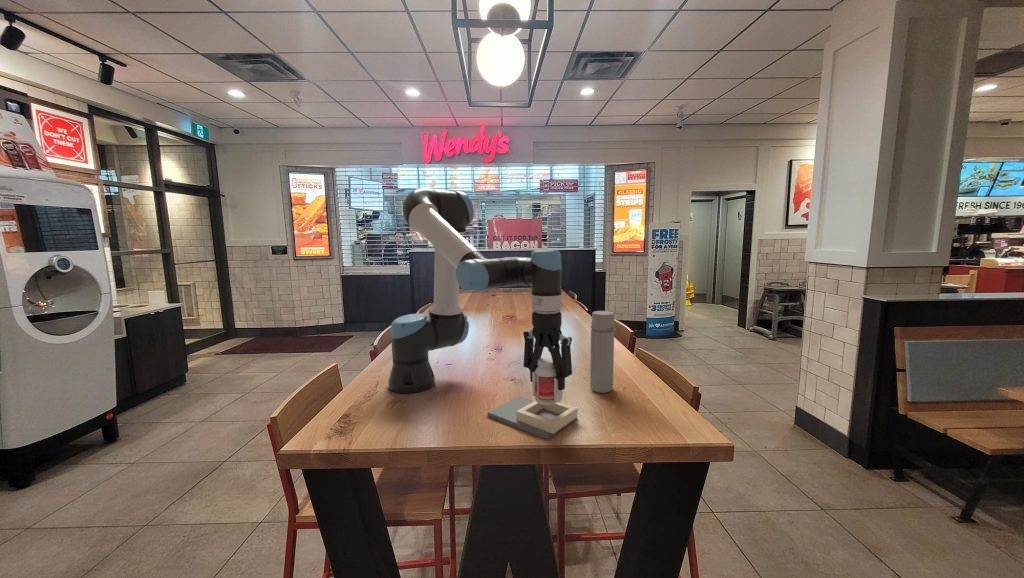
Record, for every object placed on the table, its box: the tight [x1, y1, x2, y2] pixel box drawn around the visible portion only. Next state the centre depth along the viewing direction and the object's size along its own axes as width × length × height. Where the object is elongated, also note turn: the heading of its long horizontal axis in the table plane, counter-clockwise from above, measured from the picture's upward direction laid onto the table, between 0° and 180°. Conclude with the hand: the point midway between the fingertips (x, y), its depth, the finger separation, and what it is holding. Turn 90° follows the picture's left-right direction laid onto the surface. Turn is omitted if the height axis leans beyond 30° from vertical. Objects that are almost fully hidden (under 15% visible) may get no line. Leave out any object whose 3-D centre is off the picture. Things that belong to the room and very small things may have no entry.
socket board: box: [487, 395, 578, 440], centre depth 105 cm, size 21×14×4 cm
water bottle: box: [589, 310, 617, 394], centre depth 123 cm, size 9×8×25 cm
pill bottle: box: [534, 357, 557, 405], centre depth 101 cm, size 6×6×11 cm
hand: (547, 397), depth 101 cm, fingers closed on pill bottle, 6 cm apart
